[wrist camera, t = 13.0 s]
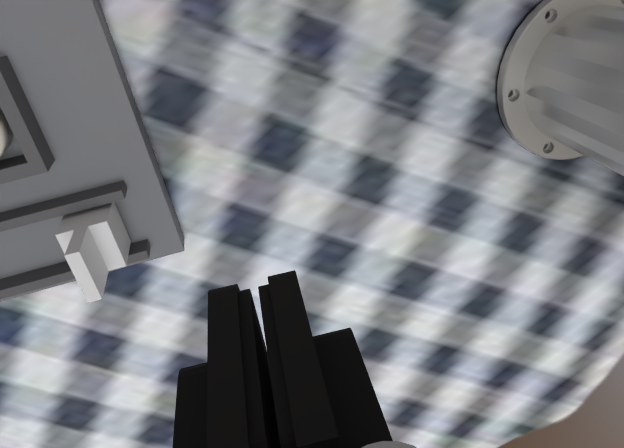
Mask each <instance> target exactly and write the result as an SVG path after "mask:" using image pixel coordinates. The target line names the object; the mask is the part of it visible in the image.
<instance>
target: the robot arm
mask: <svg viewBox="0 0 624 448" xmlns="http://www.w3.org/2000/svg"><path fill="white" fill-rule="evenodd" d="M545 15H546V16H545ZM509 92H510V93H509ZM497 102H498V108H499V114H500V117H501V119H502V122H503V124H504V127H505V128H506V130H507V131H508V133H509V134H510V136H511V137H512V138H513V139H514V140H515V141H516V142H517V143H518V144H519V145H521V146H522V147H523V148H525V149H527V150H528V151H530V152H532V153H533V154H536V155H538V156H541V157H543V158H548V159H557V160H563V159H574V158H577V157H581V156H586V157H588V158H590V159H592V160H594V161H596V162H598V163H599V164H601V165H603V166H605V167H607V168H609V169H611V170H613V171H615V172H617V173H619V174H620V175H622V176H624V0H543V1H542V2H541V3H540V4H539V5H538V6H537V7H536V8H535V9H534V10H533V11H532V12H531V13H530V14H529V15H528V16H527V17H526V18H525V20H524V21H523V22H522V24H521V25H520V26H519V28H518V29H517V30H516V32H515V34H514V36H513V37H512V39H511V41H510V43H509V45H508V47H507V49H506V52H505V54H504V57H503V60H502V63H501V65H500V71H499V76H498V81H497ZM268 282H269V284H268V285H264V286H259V287H258V289H259V296H260V304H261V311H262V318H263V325H264V332H265V339H266V346H265V342H264V339H263V335H262V331H261V328H260V324H259V320H258V316H257V313H256V309H255V305H254V302H253V298H252V294H251V291H250V289H246V290H242V291H240V290H239V287H238V285H237V284H235V285H230V286H226V287H222V288H217V289H213V290H209V291H208V359H207V363H202V364H198V365H194V366H190V367H186V368H182V369H180V371H179V375H178V384H177V397H176V410H175V423H174V436H173V448H416V447H415V446H413V445H409V444H406V443H402V442H399V441H393V440H392V438H391V435H390V432H389V429H388V427H387V424H386V421H385V419H384V416H383V413H382V410H381V408H380V405H379V402H378V400H377V397H376V394H375V391H374V389H373V386H372V383H371V381H370V378H369V375H368V372H367V370H366V367H365V364H364V362H363V359H362V356H361V353H360V351H359V348H358V345H357V343H356V340H355V337H354V335H353V332H352V330H351V328H347V329H342V330H338V331H334V332H330V333H326V334H322V335H318V336H314V337H312V333H311V329H310V325H309V321H308V318H307V314H306V310H305V306H304V302H303V298H302V295H301V291H300V287H299V283H298V279H297V275H296V272H295V271H290V272H286V273H282V274H277V275H273V276H269V277H268ZM266 347H267V350H266Z"/></svg>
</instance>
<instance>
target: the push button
mask: <svg viewBox="0 0 624 448" xmlns="http://www.w3.org/2000/svg"><path fill="white" fill-rule="evenodd" d="M12 139H13V132H12V130H11V128H10V126H9V124H8V122H7V119H6V117H5V115H4V113H3V111H2V109H1V107H0V157H1V156H2V154H3V153H4V152H5V151H6V150H7V149H8V147H9V146H10V144H11V142H12Z"/></svg>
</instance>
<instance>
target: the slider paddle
mask: <svg viewBox="0 0 624 448" xmlns="http://www.w3.org/2000/svg"><path fill="white" fill-rule="evenodd" d="M55 236H56V238H57V240H58V242H59V244H60V246H61V248H62V250H63V252H64V254H65V255H64V257H65V259H66V261H67V263H68V265H69V267H70V269H71V271H72V273H73V275H74V277H75V279H76V281H77V283H78V285H79V287H80V289H81V291H82V293H83V295H84V297H85V299H86V301H87V303H90V302H93V301H97V300H100V299H102V297H103V293H104V288H105V284H106V280H107V275H108V271H111V270H114V269H118V268H122V267H125V266H127V260H128V255H129V249H130V244H131V240H130V238H129V235H128V233H127V231H126V228H125V226H124V224H123V221H122V219H121V217H120V214H119V212H118V209H117V207H116V205H115V202H112V203H108V204H104V205H100V206H96V207H93V208H89V209H85V210H81V211H78V212H74V213H70V214H66V215H64V216H63V219H62V221H61V223H60V225H59V227H58V230H57V232H56V234H55Z"/></svg>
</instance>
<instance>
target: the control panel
mask: <svg viewBox="0 0 624 448" xmlns="http://www.w3.org/2000/svg"><path fill="white" fill-rule="evenodd" d="M0 107H1V109H2V111H3V113H4V115H5V117H6V119H7V122H8V124H9V126H10V128H11V130H12V132H13V139H12V142H11V144H10V146H9V147H8V149H7V150H6V151H5V152H4V153H3V154H2V156H1V157H0V301H4V300H7V299H11V298H15V297H18V296H22V295H25V294H29V293H33V292H36V291H40V290H44V289H47V288H51V287H54V286H58V285H62V284H65V283H69V282H73V281H76V279H75V277H74V275H73V273H72V271H71V269H70V267H69V265H68V263H67V261H66V259H65V257H64V255H65V254H64V252H63V250H62V248H61V246H60V244H59V242H58V240H57V238H56V236H55V234H56V232H57V230H58V227H59V225H60V223H61V221H62V219H63V216H64V215H66V214H70V213H74V212H78V211H81V210H85V209H89V208H93V207H96V206H100V205H104V204H108V203H112V202H115V205H116V207H117V209H118V212H119V214H120V217H121V219H122V221H123V224H124V226H125V228H126V231H127V233H128V235H129V238H130V240H131V244H130V249H129V255H128V260H127V266H130V265H134V264H138V263H141V262H145V261H149V260H152V259H156V258H159V257H163V256H167V255H170V254H174V253H178V252H181V251H184V235H183V232H182V230H181V227H180V224H179V221H178V219H177V216H176V213H175V210H174V208H173V205H172V202H171V199H170V197H169V194H168V191H167V188H166V186H165V183H164V180H163V177H162V175H161V172H160V169H159V166H158V164H157V161H156V158H155V155H154V153H153V150H152V147H151V144H150V142H149V139H148V136H147V133H146V131H145V128H144V125H143V122H142V120H141V117H140V114H139V111H138V108H137V106H136V103H135V100H134V97H133V95H132V92H131V89H130V86H129V84H128V81H127V78H126V75H125V73H124V70H123V67H122V64H121V62H120V59H119V56H118V53H117V51H116V48H115V45H114V42H113V40H112V37H111V34H110V31H109V29H108V26H107V23H106V20H105V18H104V15H103V12H102V9H101V7H100V4H99V1H98V0H0ZM127 266H125V267H127ZM122 268H123V267H122ZM118 269H120V268H118ZM114 270H116V269H114ZM111 271H112V270H111ZM108 272H109V271H108Z"/></svg>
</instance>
